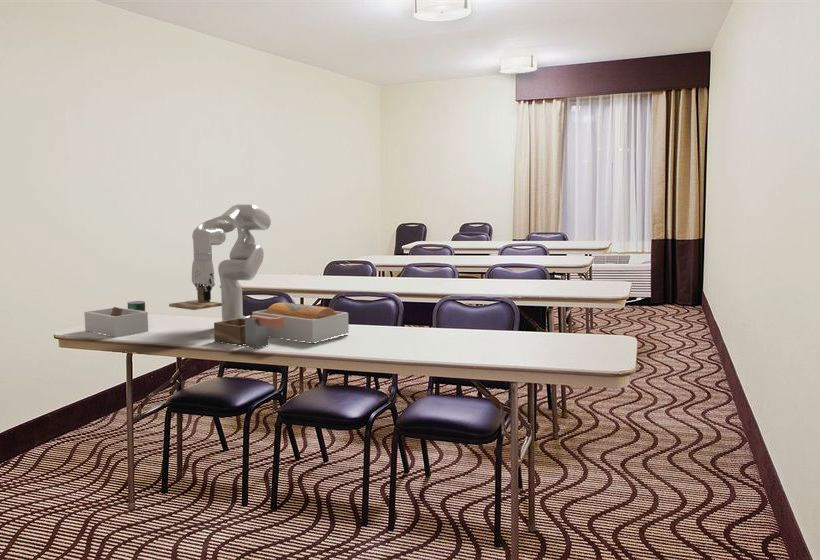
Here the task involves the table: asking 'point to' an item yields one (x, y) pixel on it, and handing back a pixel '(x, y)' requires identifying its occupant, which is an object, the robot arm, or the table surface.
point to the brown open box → (230, 331)
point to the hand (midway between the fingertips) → (204, 299)
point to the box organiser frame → (309, 327)
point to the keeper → (255, 333)
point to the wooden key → (270, 321)
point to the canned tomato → (136, 305)
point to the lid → (196, 302)
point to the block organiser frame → (116, 322)
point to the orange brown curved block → (300, 311)
